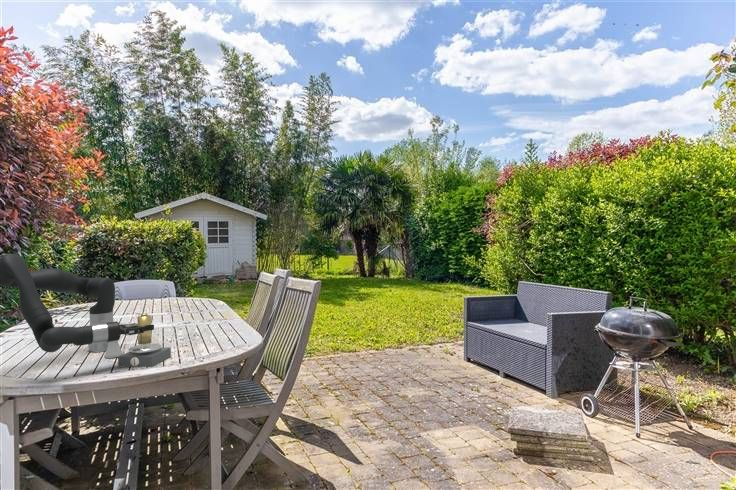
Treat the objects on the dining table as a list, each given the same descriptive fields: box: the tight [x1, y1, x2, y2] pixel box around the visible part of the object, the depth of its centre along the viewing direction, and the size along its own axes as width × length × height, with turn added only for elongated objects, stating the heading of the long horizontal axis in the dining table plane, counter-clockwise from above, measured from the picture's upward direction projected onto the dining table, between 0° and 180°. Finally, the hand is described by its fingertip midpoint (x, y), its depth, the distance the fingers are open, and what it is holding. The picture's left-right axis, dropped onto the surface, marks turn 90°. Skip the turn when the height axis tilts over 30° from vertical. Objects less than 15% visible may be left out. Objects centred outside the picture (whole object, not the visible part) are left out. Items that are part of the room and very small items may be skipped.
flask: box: [104, 340, 124, 359], centre depth 185 cm, size 7×7×10 cm
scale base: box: [117, 346, 172, 368], centre depth 176 cm, size 14×14×4 cm
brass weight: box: [137, 312, 153, 345], centre depth 176 cm, size 5×5×12 cm
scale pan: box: [128, 343, 162, 354], centre depth 176 cm, size 12×12×1 cm
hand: (151, 326), depth 178 cm, fingers closed on brass weight, 5 cm apart
